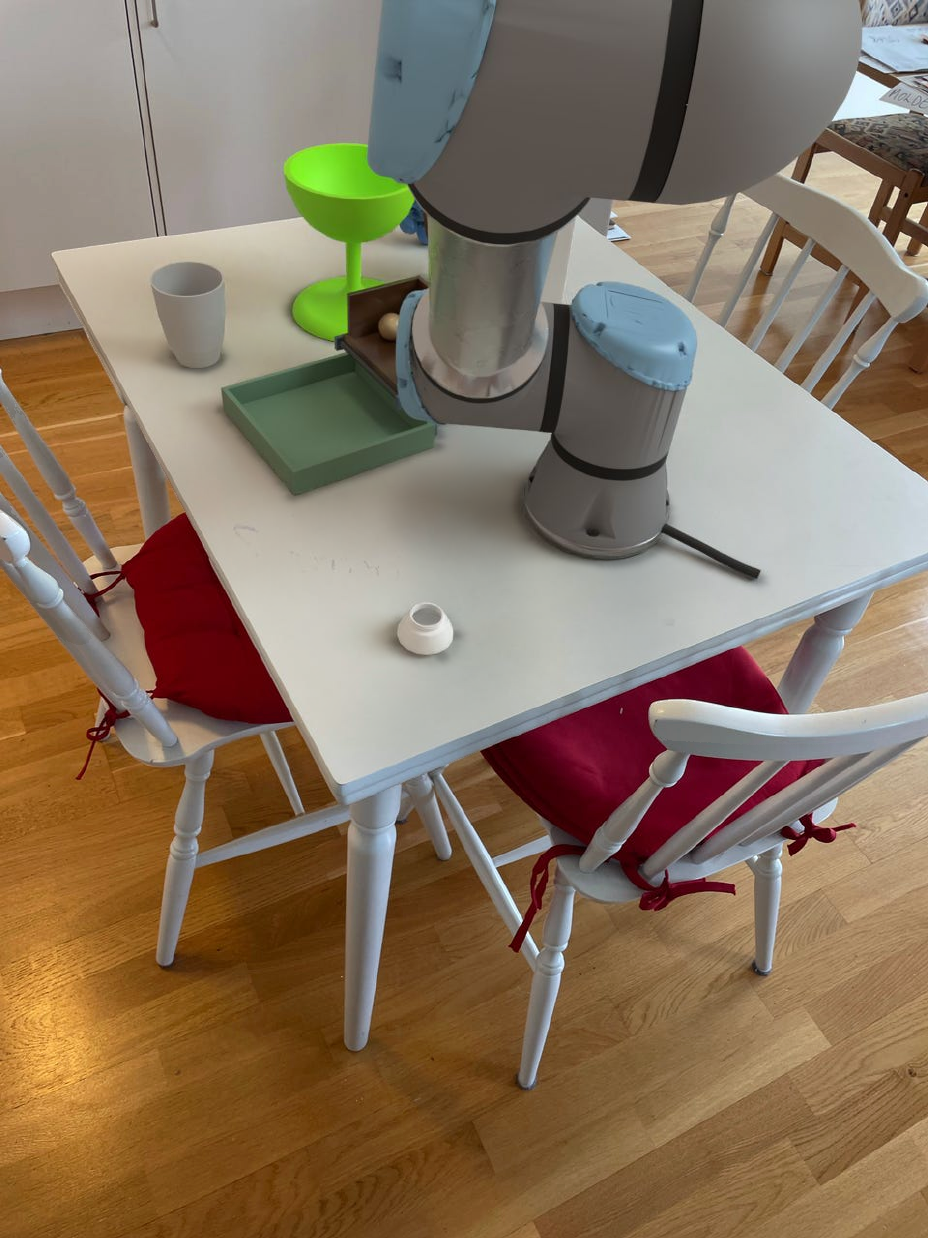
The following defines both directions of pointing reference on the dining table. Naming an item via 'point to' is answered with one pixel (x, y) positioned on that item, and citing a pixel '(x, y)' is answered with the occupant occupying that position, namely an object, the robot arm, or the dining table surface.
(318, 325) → the wineglass
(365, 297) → the brown wooden box
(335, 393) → the tray
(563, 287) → the milk
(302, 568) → the dining table surface
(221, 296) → the cup
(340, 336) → the stand
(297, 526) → the dining table surface
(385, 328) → the wooden ball
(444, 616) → the lidless jar
